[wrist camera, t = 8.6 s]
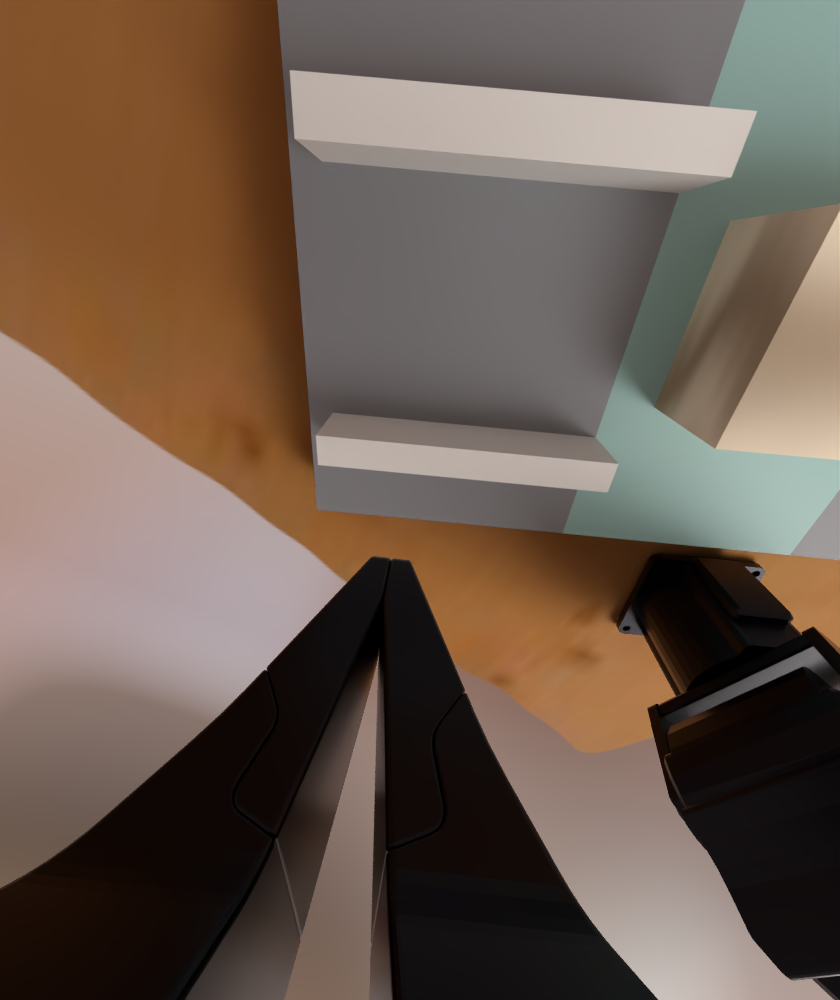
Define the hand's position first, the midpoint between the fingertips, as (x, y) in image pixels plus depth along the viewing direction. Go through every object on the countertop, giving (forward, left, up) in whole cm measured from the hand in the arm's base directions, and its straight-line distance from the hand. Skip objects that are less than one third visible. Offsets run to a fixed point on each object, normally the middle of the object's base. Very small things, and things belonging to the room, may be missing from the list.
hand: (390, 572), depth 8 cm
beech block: (+5, -12, -9) cm, 16 cm away
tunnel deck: (+4, -12, -12) cm, 17 cm away
